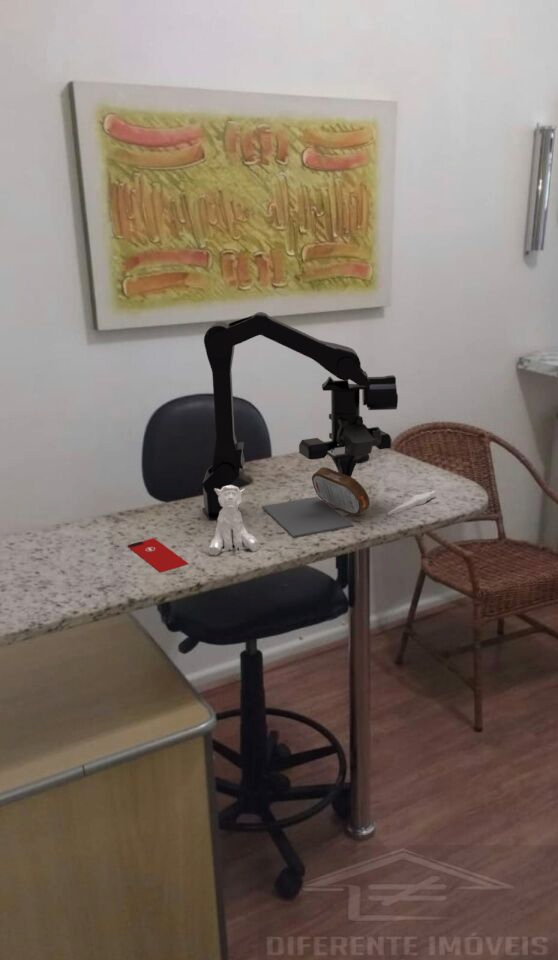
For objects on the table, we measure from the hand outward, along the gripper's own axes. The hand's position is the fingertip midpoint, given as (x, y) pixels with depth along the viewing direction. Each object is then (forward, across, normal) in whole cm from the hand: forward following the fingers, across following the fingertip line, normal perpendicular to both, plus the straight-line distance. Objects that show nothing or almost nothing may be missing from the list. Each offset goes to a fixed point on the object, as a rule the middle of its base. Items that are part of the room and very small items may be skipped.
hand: (345, 483), depth 157 cm
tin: (+6, -1, 0) cm, 6 cm away
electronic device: (+7, -42, -5) cm, 43 cm away
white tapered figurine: (+6, +13, -4) cm, 15 cm away
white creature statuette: (+6, -28, -7) cm, 29 cm away
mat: (+6, -9, 0) cm, 11 cm away
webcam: (+6, +17, +31) cm, 36 cm away
